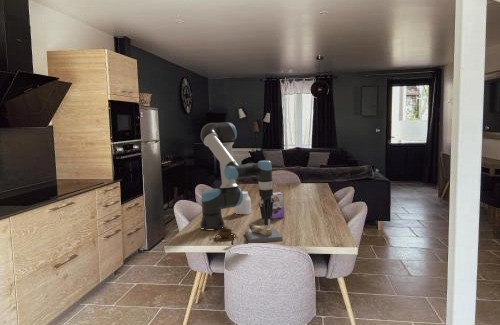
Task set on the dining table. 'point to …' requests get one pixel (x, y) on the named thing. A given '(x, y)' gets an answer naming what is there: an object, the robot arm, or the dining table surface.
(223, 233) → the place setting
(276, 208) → the candy box
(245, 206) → the jar
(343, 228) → the dining table surface
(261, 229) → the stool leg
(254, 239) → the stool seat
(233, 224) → the dining table surface
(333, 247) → the dining table surface
